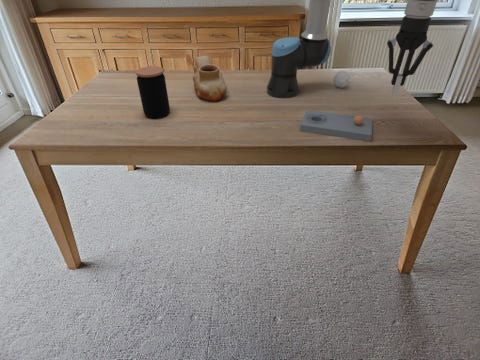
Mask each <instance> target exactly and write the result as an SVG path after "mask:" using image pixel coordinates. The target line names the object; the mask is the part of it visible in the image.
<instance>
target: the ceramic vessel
mask: <svg viewBox="0 0 480 360" xmlns="http://www.w3.org/2000/svg"><path fill="white" fill-rule="evenodd" d="M194 60H195V63H194V64H193V66H192V69H193V72H194V74H193V75H192V81H193V87H194V91H195V92H196V95H197V97H198V98H199V99H200V100H201V101H206V102H210V103H217V102H220V101H221V99H223V98H224V97H225V95H226V93H227V91H228V90H227V89H228V87H227V85H226V82H225V79H224V78H223V74H222V72H221V71H220V67H219V66H217V65H215V64H213V62H212V60H211V57H210V56H208V55H202V56H197V57H196V58H195V59H194Z"/></svg>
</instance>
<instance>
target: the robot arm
mask: <svg viewBox="0 0 480 360" xmlns="http://www.w3.org/2000/svg"><path fill="white" fill-rule="evenodd" d="M437 3H438V0H407V3H406V5H405V8H404V16H403V17H402V19H401V24H400V27H399V31H398V33H396V35H395V37H393V38H392V39H388V40H386V43H387V48H388V73H389V74H392V77H391V82H390V83H391V85H392V86H393V87H392V90H391V96H393V97H397V96H398V93H399V90H400V87H403V86H404V85H405V83H406V79H407V77H408V76H413V75H414V74H415V72H416V71H417V69H418V68H419V66H420V65H421V64H422V61H423V59H424V58H425V56H426V55H427V53H428V52H429V51H430V50H431V49H433V47H434V45H433V42H431V41H429V39H428V35H427V33H428V30H429V28H430V26H431V25H430V24H431V22H432V18H431V17H432V16H433V15H434V12H435V9H436V6H437ZM331 4H332V0H309V4H308V12H307V18H306V25H305V30H304V31H303V32H302V33H301V36H300V38H298V37H296V36H290V37H289V36H288V37H286V36H285V37H282V38H279V39H277V40H275V41H274V43H273V44H272V50H271V70H270V71H271V72H270V78H269V81H268V83H267V85H266V93H267V95H269V96H271V97H274V98H279V99H287V98H294V97H296V96H297V95H299V91H300V87H299V83H298V76H297V75H298V74H297V73H298V69H304V68H310V67H311V68H312V67H318V66H321V65H324V64H325V63H326V62H327V61H328V59H329V58H330V55H331V50H332V46H331V41H330V40H329V39H328V38H329V36H328V34H327V33H326V29H327V26H328V25H327V24H328V18H329V13H330V8H331ZM396 43H397V44H398V46H399V54H398V57H397V60H396V63H395V66H394V49H395V48H394V47H395V46H396ZM420 46H422V48H421V50H420V52H419V53H418V55H417V57H416V59H415V60H414V61H413V58H414V55H415V52H416V50H417V49H418V48H420ZM406 51H408V53H407V56H406V60H405V63H404V66H403V70H402V73H400V70H401V66H402V64H403V60H404V57H405V53H406ZM412 61H413V64H412ZM411 64H412V65H411Z"/></svg>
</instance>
